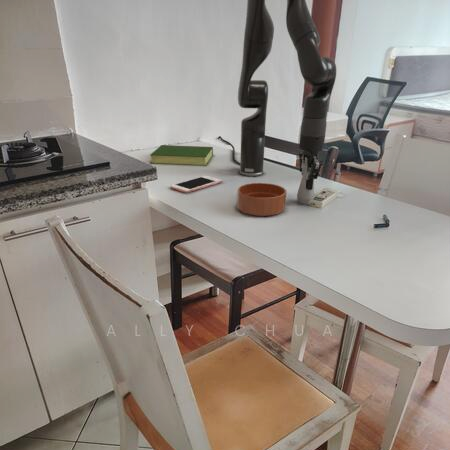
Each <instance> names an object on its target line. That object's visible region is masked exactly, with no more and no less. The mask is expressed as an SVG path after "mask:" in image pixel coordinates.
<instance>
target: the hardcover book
mask: <svg viewBox="0 0 450 450" xmlns="http://www.w3.org/2000/svg"><path fill="white" fill-rule="evenodd" d="M149 156H150V160H151V161H150V164H153V165H177V166H200V167H201V166H203V167H205V166H207V165H208V164H209V162H210V161H211V159H212V157H213V156H214V147H213V146H196V145H195V146H194V145H171V144H169V145H168V144H167V145H166V144H163V145H162V144H161V145H160V146H159V147H157V148H156V149H155V150H154V151H152V153H150V155H149Z"/></svg>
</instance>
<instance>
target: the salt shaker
mask: <svg viewBox="0 0 450 450" xmlns="http://www.w3.org/2000/svg"><path fill="white" fill-rule="evenodd" d="M305 165H306V163H303V166H302V169H303V170H304V172H303V176H302V175H301V180H300V183H299V186H298V190H297V193H296V199H297V202H298V203H299V204H301V205H307V206H308V205H311V204H312V203H313V201H314V200H315V197H316V196H315V195H316V193H315V179H314V180H313V188H312V190H307V189H306V176H307V172H306V171H305ZM308 169H311V168H309V167H308ZM309 174H310V173H309ZM311 200H313V201H311ZM309 201H311V202H309Z"/></svg>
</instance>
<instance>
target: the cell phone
mask: <svg viewBox="0 0 450 450" xmlns="http://www.w3.org/2000/svg"><path fill="white" fill-rule="evenodd" d="M220 183H222V179H219V178H217V177H213V176H208V175H202V176H198V177H195V178H191V179H188V180H185V181H181V182H177V183H174V184H171V185H170V189H173V190H176V191H179V192H181V193H184V194H189V193H191V192H195V191H198V190H201V189H204V188H207V187H210V186H214V185H216V184H220Z"/></svg>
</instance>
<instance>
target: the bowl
mask: <svg viewBox="0 0 450 450" xmlns="http://www.w3.org/2000/svg"><path fill="white" fill-rule="evenodd" d="M286 201H287V189H286V188H285V187H283V186H281V185H278V184H274V183H267V182H253V183H247V184H243V185H241V186H239V187H237V193H236V207H237V209H238V210H239V211H240V212H242V213H245V214H248V215H252V216H259V217H266V216H275V215H279V214H281V213H283V212H284V211H285V210H286V204H287V203H286Z"/></svg>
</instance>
